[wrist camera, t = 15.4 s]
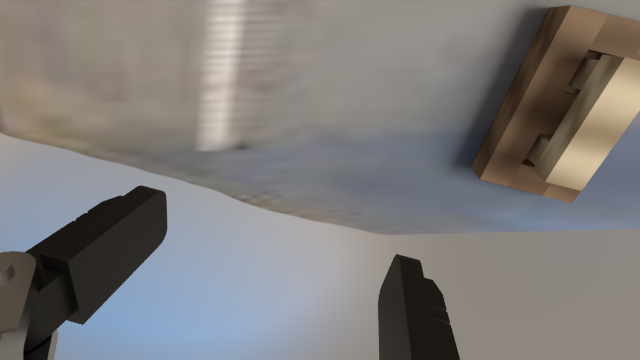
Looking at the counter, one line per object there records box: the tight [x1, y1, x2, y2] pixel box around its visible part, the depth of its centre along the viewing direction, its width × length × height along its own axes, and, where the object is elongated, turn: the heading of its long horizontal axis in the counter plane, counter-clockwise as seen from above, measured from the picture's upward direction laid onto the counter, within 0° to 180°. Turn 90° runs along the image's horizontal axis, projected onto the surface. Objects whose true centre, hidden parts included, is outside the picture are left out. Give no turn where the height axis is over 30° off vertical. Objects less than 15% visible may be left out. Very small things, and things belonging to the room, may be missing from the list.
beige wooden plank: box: [526, 55, 640, 191], centre depth 34 cm, size 13×4×8 cm, turn 168°
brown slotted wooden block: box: [471, 5, 640, 203], centre depth 37 cm, size 20×12×4 cm, turn 168°
